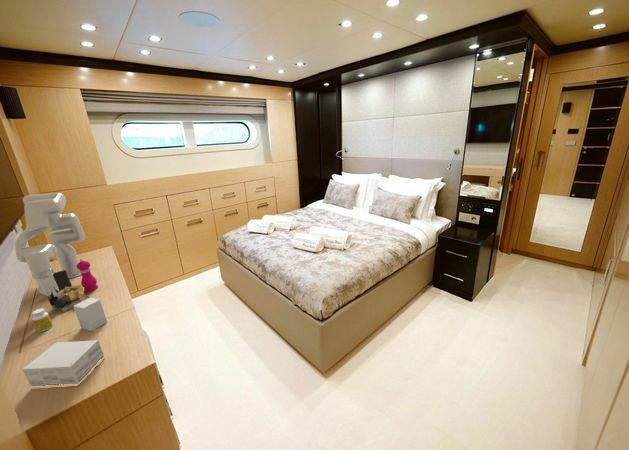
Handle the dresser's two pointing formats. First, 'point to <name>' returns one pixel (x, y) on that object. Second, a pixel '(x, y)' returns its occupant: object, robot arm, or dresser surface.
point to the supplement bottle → (41, 320)
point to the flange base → (74, 302)
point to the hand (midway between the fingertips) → (55, 303)
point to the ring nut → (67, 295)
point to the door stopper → (62, 280)
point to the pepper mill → (87, 276)
